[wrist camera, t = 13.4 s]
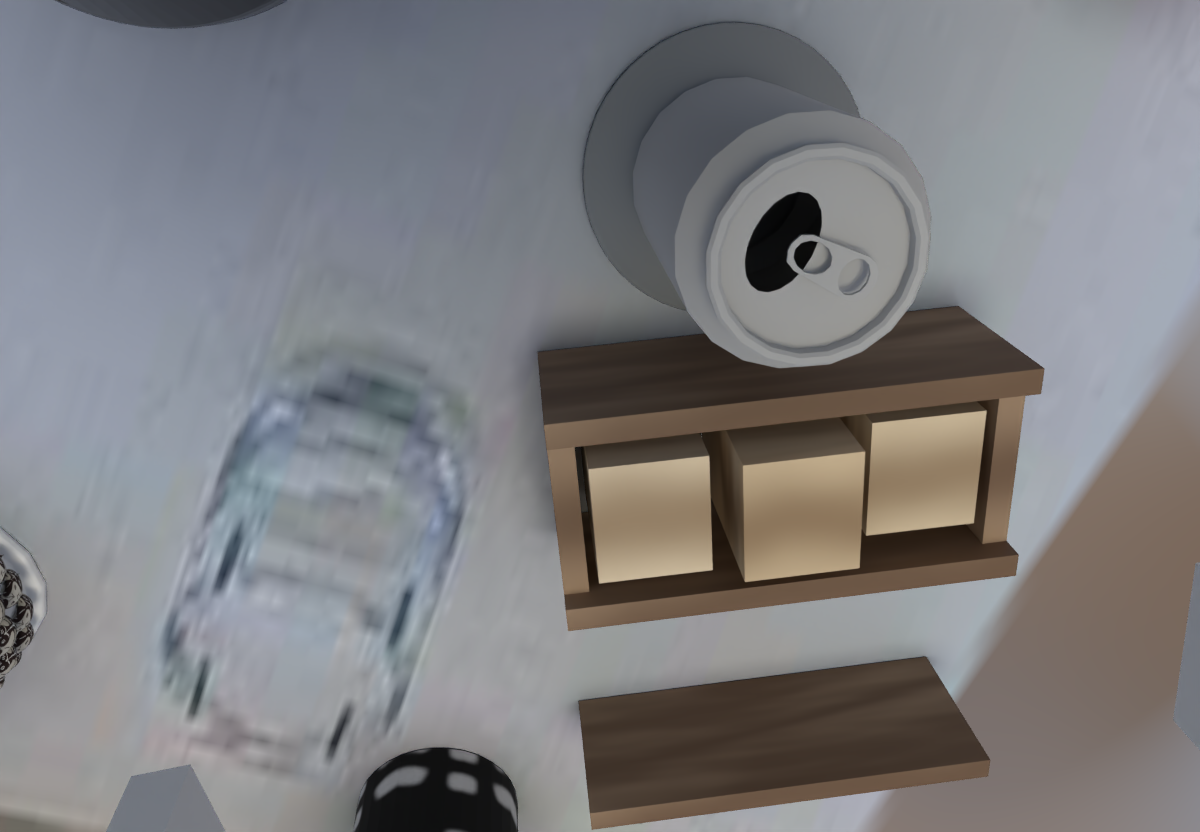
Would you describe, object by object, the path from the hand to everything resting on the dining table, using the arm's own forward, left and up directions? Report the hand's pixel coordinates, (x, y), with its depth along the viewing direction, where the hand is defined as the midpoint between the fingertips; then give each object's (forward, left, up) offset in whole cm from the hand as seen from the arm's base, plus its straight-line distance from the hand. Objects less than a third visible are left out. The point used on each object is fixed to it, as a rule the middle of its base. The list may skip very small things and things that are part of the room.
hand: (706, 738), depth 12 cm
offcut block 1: (+9, +2, -27) cm, 29 cm away
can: (-2, +6, -27) cm, 27 cm away
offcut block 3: (+9, +12, -27) cm, 31 cm away
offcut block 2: (+9, +7, -27) cm, 30 cm away
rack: (+15, +7, -27) cm, 32 cm away
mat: (-2, +6, -27) cm, 28 cm away
